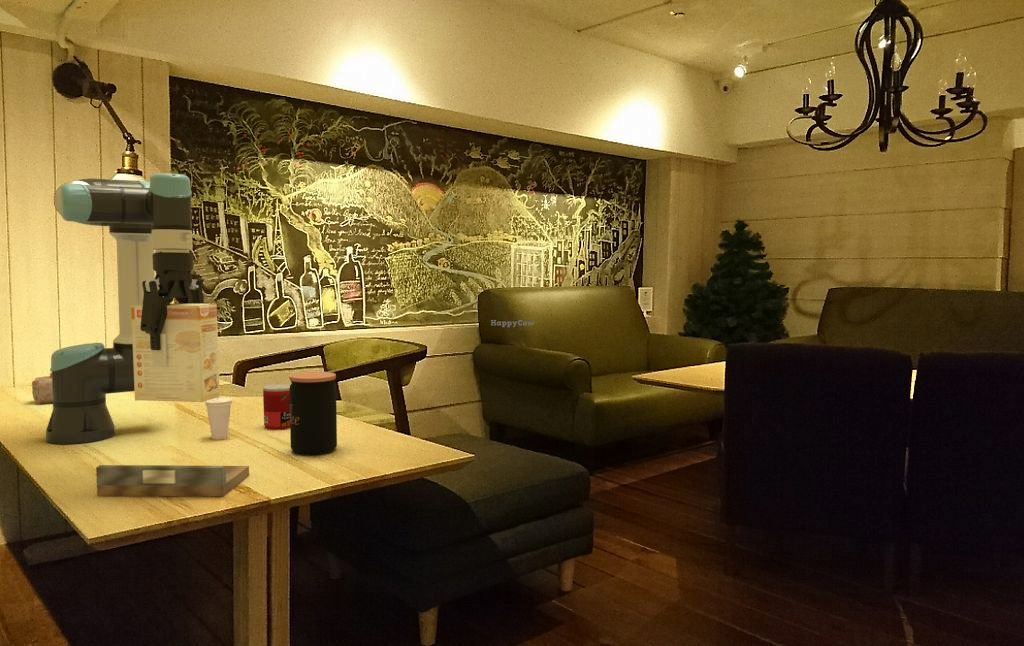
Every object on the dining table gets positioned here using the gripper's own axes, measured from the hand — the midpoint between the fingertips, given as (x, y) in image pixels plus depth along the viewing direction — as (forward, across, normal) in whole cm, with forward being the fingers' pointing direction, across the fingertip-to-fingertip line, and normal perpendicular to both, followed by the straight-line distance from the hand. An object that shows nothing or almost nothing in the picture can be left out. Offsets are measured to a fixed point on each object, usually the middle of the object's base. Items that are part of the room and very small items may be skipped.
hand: (176, 363), depth 154 cm
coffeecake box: (+8, 0, 0) cm, 8 cm away
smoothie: (+24, +30, +17) cm, 42 cm away
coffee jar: (+24, +29, -12) cm, 39 cm away
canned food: (+24, +46, +11) cm, 53 cm away
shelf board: (+24, -4, -4) cm, 24 cm away
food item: (+23, +51, +99) cm, 114 cm away
